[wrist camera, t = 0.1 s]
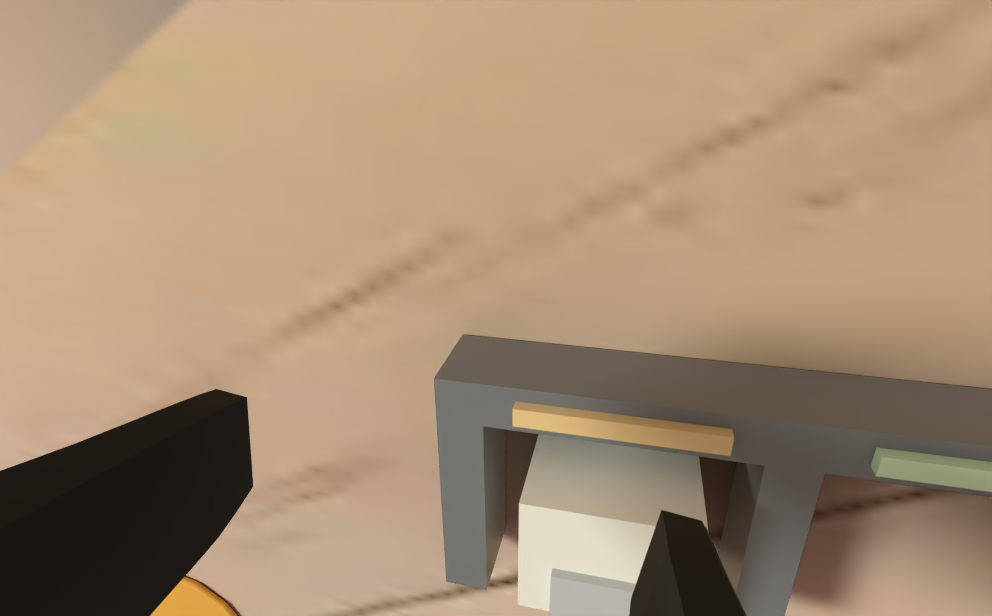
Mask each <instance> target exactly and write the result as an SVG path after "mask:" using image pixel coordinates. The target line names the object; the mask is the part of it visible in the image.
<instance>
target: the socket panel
mask: <svg viewBox="0 0 992 616" xmlns="http://www.w3.org/2000/svg"><path fill="white" fill-rule="evenodd" d="M434 387H435V403H436V419H437V435H438V452H439V468H440V484H441V501H442V517H443V533H444V550H445V566H446V582H451V583H456V584H461V585H466V586H471V587H475V588H480V589H485V590H487V587H488V584H489V581H490V577H491V574H492V571H493V567H494V564H495V561H496V557H497V554H498V551H499V547H500V544H501V541H502V537H503V534H504V531H505V430H512V431H519V432H526V433H534V434H541V435H548V436H555V437H562V438H570V439H577V440H584V441H591V442H598V443H606V444H613V445H620V446H627V447H634V448H642V449H649V450H656V451H663V452H670V453H678V454H685V455H692V456H699V457H706V458H713V459H721V460H728V461H735V462H737V463H736V468H735V473H734V478H733V483H732V488H731V493H730V497H729V502H728V507H727V512H726V517H725V522H724V527H723V532H722V537H721V542H720V547H719V552H718V556H719V558H720V560H721V562H722V565H723V567H724V569H725V571H726V573H727V575H728V578H729V580H730V582H731V584H732V586H733V588H734V590H735V592H736V595H737V597H738V599H739V601H740V603H741V605H742V607H743V609H744V611H745V613H746V615H747V616H785V612H786V609H787V605H788V602H789V598H790V595H791V591H792V588H793V584H794V581H795V577H796V574H797V570H798V567H799V563H800V560H801V556H802V552H803V549H804V545H805V542H806V538H807V535H808V531H809V528H810V524H811V521H812V517H813V514H814V510H815V507H816V503H817V500H818V496H819V493H820V489H821V486H822V482H823V479H824V475H825V474H829V475H836V476H843V477H850V478H857V479H865V480H872V481H879V482H886V483H893V484H901V485H908V486H915V487H922V488H929V489H937V490H944V491H951V492H958V493H965V494H973V495H980V496H987V497H992V389H986V388H976V387H966V386H957V385H947V384H937V383H928V382H918V381H908V380H898V379H889V378H879V377H869V376H860V375H850V374H840V373H831V372H821V371H811V370H802V369H792V368H782V367H773V366H763V365H753V364H744V363H734V362H724V361H715V360H705V359H695V358H686V357H676V356H666V355H657V354H647V353H637V352H628V351H618V350H608V349H598V348H589V347H579V346H569V345H560V344H550V343H540V342H531V341H521V340H511V339H502V338H492V337H482V336H473V335H462V336H461V338H460V339H459V341H458V343H457V344H456V346H455V347H454V349H453V350H452V352H451V353H450V355H449V356H448V358H447V359H446V361H445V362H444V364H443V365H442V367H441V368H440V370H439V372H438V373H437V375H436V376H435V378H434Z"/></svg>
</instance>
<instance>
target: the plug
mask: <svg viewBox="0 0 992 616" xmlns="http://www.w3.org/2000/svg"><path fill="white" fill-rule="evenodd" d="M661 510H664V511H668V512H672V513H675V514H679V515H683V516H686V517H690V518H694V519H697V520H701V521H702V522H703V524H704V525H705V527H706V528H707V530H708V524H707V516H706V508H705V500H704V493H703V485H702V477H701V469H700V461H699V456H692V455H685V454H678V453H670V452H663V451H656V450H649V449H642V448H634V447H627V446H620V445H613V444H606V443H598V442H591V441H584V440H577V439H570V438H562V437H555V436H548V435H541V434H539V435H538V438H537V442H536V445H535V449H534V452H533V456H532V459H531V463H530V466H529V470H528V473H527V477H526V480H525V484H524V487H523V491H522V494H521V498H520V501H519V546H518V605H522V606H526V607H531V608H536V609H541V610H546V611H549V616H629V613H630V603H631V597H632V594H633V591H634V588H635V585H636V583H637V580H638V577H639V574H640V571H641V568H642V565H643V562H644V559H645V556H646V553H647V551H648V548H649V545H650V542H651V539H652V536H653V533H654V530H655V527H656V524H657V521H658V519H659V516H660V513H661ZM708 533H709V532H708Z"/></svg>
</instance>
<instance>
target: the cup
mask: <svg viewBox="0 0 992 616" xmlns="http://www.w3.org/2000/svg"><path fill="white" fill-rule="evenodd" d="M150 616H238V615H237V614H236V613H235V612H234V611H233V609H232V608H231V607H230V606H229V605H228V603H227V602H225V601H224V600H223V599H221V598H220V597H218V596H217V595H216V594H214V593H213V592H212V591H210V590H209V589H207V588H206V587H205V586H203V585H202V584H201V583H199V582H197V581H194V580H192V579H190V578H187V577H184V578H183V579H182V580H181V581H180V582H179V583H178V585H177V586H176V587H175V588H174V589H173V590H172V591H171V593H170V594H169V595H168V596H167V597H166V598H165V599H164V600H163V602H162V603H161V604H160V605H159V606H158V607H157V608H156V609H155V611H154V612H153V613H152V614H151V615H150Z"/></svg>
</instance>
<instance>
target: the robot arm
mask: <svg viewBox="0 0 992 616" xmlns="http://www.w3.org/2000/svg"><path fill="white" fill-rule="evenodd" d="M252 487H253V478H252V464H251V449H250V435H249V421H248V407H247V397H243V396H240V395H236V394H232V393H229V392H225V391H221V390H218V389H215V390H212V391H209V392H206V393H203V394H200V395H198V396H195V397H192V398H189V399H187V400H184V401H182V402H179V403H176V404H174V405H171V406H169V407H166V408H164V409H161V410H159V411H156V412H154V413H151V414H149V415H146V416H144V417H141V418H139V419H136V420H134V421H131V422H129V423H126V424H124V425H121V426H119V427H116V428H114V429H111V430H109V431H106V432H103V433H101V434H98V435H96V436H93V437H91V438H88V439H86V440H83V441H81V442H78V443H76V444H73V445H70V446H68V447H65V448H62V449H60V450H57V451H54V452H51V453H49V454H46V455H43V456H40V457H38V458H35V459H32V460H29V461H27V462H24V463H21V464H18V465H16V466H13V467H10V468H7V469H5V470H2V471H0V616H150V615H151V614H152V613H153V612H154V611H155V609H156V608H157V607H158V606H159V605H160V604H161V603H162V602H163V600H164V599H165V598H166V597H167V596H168V595H169V594H170V593H171V591H172V590H173V589H174V588H175V587H176V586H177V585H178V583H179V582H180V581H181V580H182V579H183V578H184V577H185V576H186V574H187V573H188V572H189V571H190V570H191V569H192V567H193V566H194V565H195V564H196V563H197V562H198V561H199V559H200V558H201V557H202V556H203V555H204V554H205V552H206V551H207V550H208V549H209V548H210V547H211V545H212V544H213V543H214V542H215V541H216V540H217V538H218V537H219V536H220V534H221V533H222V532H223V530H224V529H225V527H226V526H227V524H228V523H229V522H230V520H231V519H232V517H233V516H234V515H235V513H236V512H237V510H238V509H239V507H240V506H241V504H242V502H243V501H244V499H245V498H246V496H247V495H248V493H249V492H250V490H251V489H252ZM629 616H747V615H746V613H745V611H744V609H743V607H742V605H741V603H740V601H739V599H738V597H737V595H736V592H735V590H734V588H733V586H732V584H731V582H730V580H729V578H728V575H727V573H726V571H725V569H724V567H723V565H722V562H721V560H720V558H719V556H718V553H717V551H716V549H715V547H714V544H713V542H712V540H711V537H710V535H709V533H708V530H707V528H706V527H705V525H704V524H703V522H702V521H701V520H697V519H694V518H690V517H686V516H683V515H679V514H675V513H672V512H668V511H664V510H661V513H660V516H659V519H658V521H657V524H656V527H655V530H654V533H653V536H652V539H651V542H650V545H649V548H648V551H647V553H646V556H645V559H644V562H643V565H642V568H641V571H640V574H639V577H638V580H637V583H636V585H635V588H634V591H633V594H632V597H631V603H630V613H629Z"/></svg>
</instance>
